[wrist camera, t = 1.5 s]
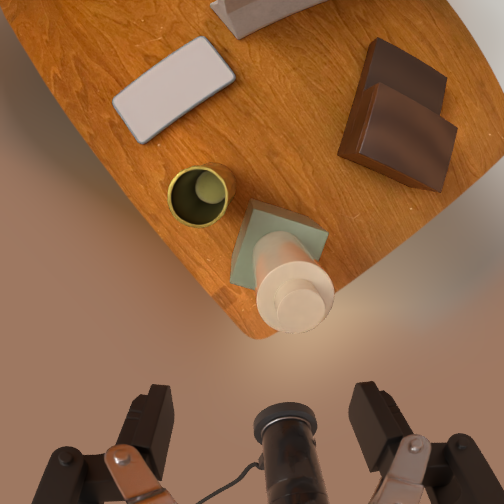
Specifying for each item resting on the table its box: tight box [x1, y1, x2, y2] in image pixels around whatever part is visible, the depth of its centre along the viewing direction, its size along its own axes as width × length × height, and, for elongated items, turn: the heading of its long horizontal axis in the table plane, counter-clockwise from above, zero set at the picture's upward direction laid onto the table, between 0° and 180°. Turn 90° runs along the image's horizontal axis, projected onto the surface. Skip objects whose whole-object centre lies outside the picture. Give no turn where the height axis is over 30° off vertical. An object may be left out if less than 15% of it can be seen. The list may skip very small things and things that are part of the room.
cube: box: [230, 198, 329, 290], centre depth 36 cm, size 8×8×10 cm
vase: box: [167, 163, 236, 228], centre depth 32 cm, size 6×6×14 cm
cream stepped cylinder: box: [251, 231, 334, 333], centre depth 25 cm, size 6×6×12 cm
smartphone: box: [112, 36, 236, 144], centre depth 35 cm, size 8×1×15 cm
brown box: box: [337, 37, 458, 193], centre depth 33 cm, size 18×12×8 cm, turn 162°
